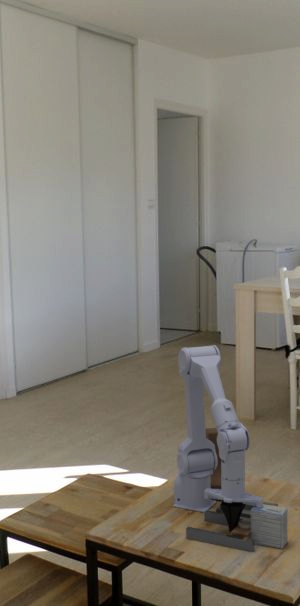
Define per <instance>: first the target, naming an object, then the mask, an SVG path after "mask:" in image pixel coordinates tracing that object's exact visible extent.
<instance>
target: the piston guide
mask: <svg viewBox="0 0 300 606" xmlns="http://www.w3.org/2000/svg"><path fill="white" fill-rule="evenodd" d="M244 518H245V519H251V518H246V517H241V516H240V519H239V521H240V520H243V519H244ZM204 522H207V523H212V524H213V523H214V524H218V525H223V526H228V523H227V520H226V517H225V515H224V513H219V512H216V511H212V510H206V511H205V512H204ZM185 538H186V539H188V540H194V541H197V542H202V543H206V544H207V543H208V544H213V545H216V546H222V547H227V548H231V549H237V550H241V551H247V552H251V553H253V552H254V551H255V544H254V540H253V539H248V537H245V538H243V537H238V536H233V535H231V534H226V533H222V532H217V531H212V530H207V529H203V528H202V529H201V528H197V527H192V526H187V527H186V529H185Z"/></svg>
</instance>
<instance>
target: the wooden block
mask: <svg viewBox="0 0 300 606" xmlns="http://www.w3.org/2000/svg"><path fill="white" fill-rule="evenodd" d="M205 429H206V438H207V439H208V440H210V441H211V442H212V443H213V444H214V445H215V451H216V455H217V459H218V463H217V467H216V469H215V470H214V471H213V474H211V489H221V458H220V456H219V448H218V445H217V436H218V431H217V428H216V427H207V428H206V427H205ZM211 500H215V501H219V500H218V499H213V498H211Z"/></svg>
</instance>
